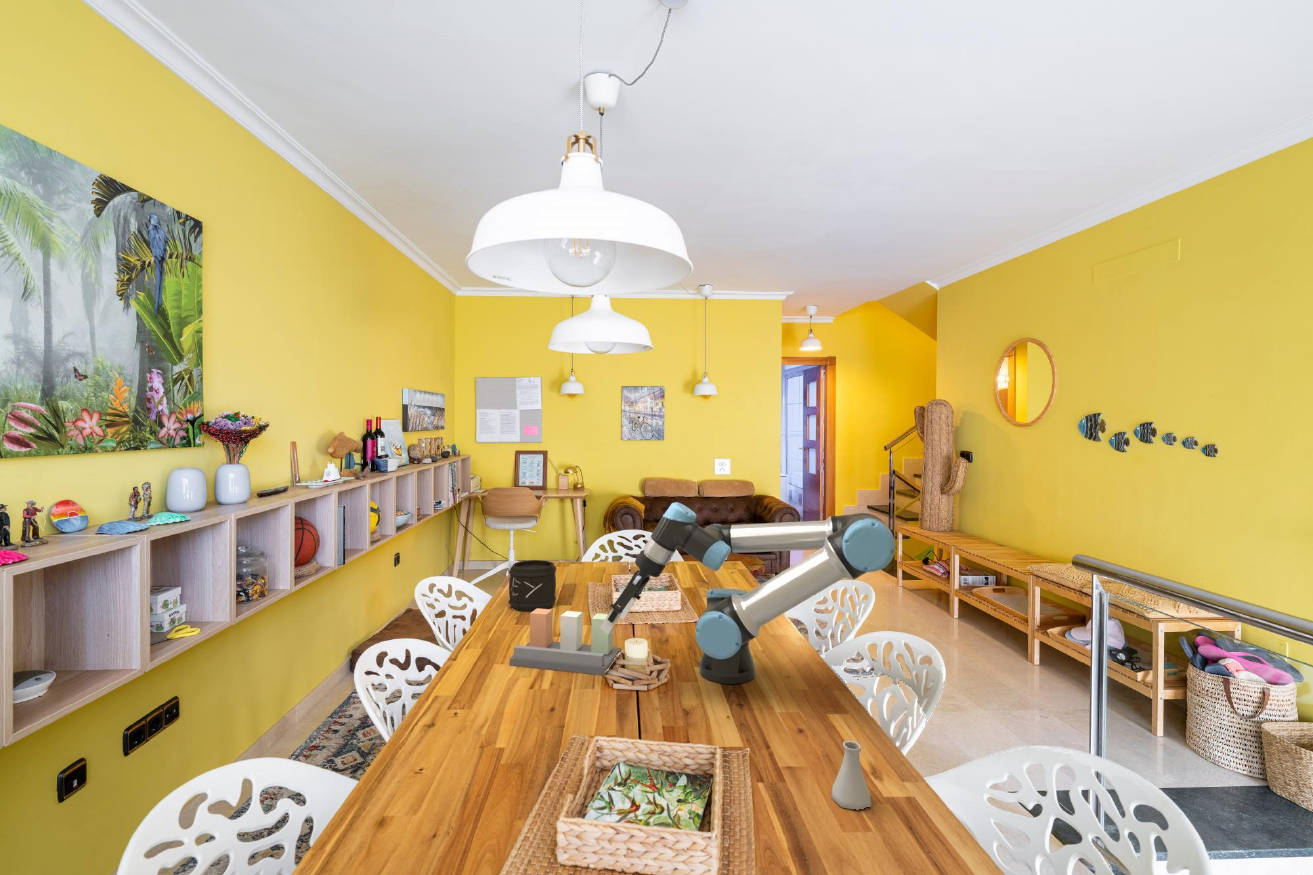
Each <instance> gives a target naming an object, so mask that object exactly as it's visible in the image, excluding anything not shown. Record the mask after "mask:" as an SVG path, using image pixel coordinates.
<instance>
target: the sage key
mask: <svg viewBox="0 0 1313 875" xmlns="http://www.w3.org/2000/svg"><path fill="white" fill-rule="evenodd" d="M608 614H609V613H596V614H595V615H593V617H592V618H591V629H590V630H591V633H590V634H591V637H590V638H591V641H590V645H591V652H593V653H603V654H607V655H608V654H609V653H610V651H611V650H612V649H613V647H614V627H613V628H612V630H611V631H610V633H609V634H607V633H606V632H604V631H603V630H602V629H600V627H601V625H602V623H603V622H604V620H605V619H606V617H607V616H608Z"/></svg>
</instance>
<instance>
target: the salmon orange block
mask: <svg viewBox="0 0 1313 875" xmlns="http://www.w3.org/2000/svg"><path fill="white" fill-rule="evenodd" d="M529 613H530V614H529V618H530V619H529V643H530V646H532V647H542V648H547V647H548V646H549V645H550V644H551V643H552V641H553V617H554V616H553V609H552V608H550V609H539V608H537V609H536V610H534V611H533V612H529Z"/></svg>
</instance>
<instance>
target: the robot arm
mask: <svg viewBox="0 0 1313 875" xmlns="http://www.w3.org/2000/svg"><path fill="white" fill-rule="evenodd" d="M696 519H697V513H696V512H695V511H693V510H692V509H691V508H689V507H687V505H684V504H682V503H680V502H672V503H671V504H670V506H669V507H668V509H666V511H665V512H664V514H663V515H662V517H661V518H660V520H659V521H658V523H657V525H656V526H655V529H654V530H653V532H652V534H651V535H650V537H646V538H645V541H646V543H645V545H644V546H643V549H642V550H640V552H639V553H638V555H637V556H636V558H635V560H634V563H635V565H636V567H638V569H639V570H636V571H635V572H634V573H633V574H632V576H631V579H630V580H629V581H628V583H627V584H626V586H625V588H624V589H623V590H622V591H621V594H619V596H618V598H617V599H616V601H614V603H611V604H610V606H609V607H611V609H610V611H609V612H608V613H607V614H608V616H607V617H606V619H605V620H604V622H603V623H602V625H601V627H600V629H602V630H603V631H604V632H606V633H607V634H609V633H610V631H611V630H612V628H613V629H614V626H615V625H616V624H617V623H618V620H619V619H622V620H623V621H624V620H625V618H626V617H627V615H628V614H629V612H630V610H631V608H632V607H633V606H634V604H635V602H636V601H640V599H641V598H642V597H641V595H642V592H643V591H644V589H645V587H646V586H647V584H648V583H649V581H650V580H651V577H653V578H658V577H660V575H662V573H663V571H664V570H665V568H666V565H668V564H669V562H670V560H672V557H674V554H675V553H676V551H677V549H678V548H680V550H682V551H684V552H685V553H687V554H688V555H690V556H691V557H692V558H693V559H695V560H697V561H698V562H699V563H701V564H702V565H703V566H705V567H706V568H708V569H710V570H712V571H713V572H718V571H719V570H720V569H721V567H722V566H723V565H724V563H725V561H726V560H727V558H728V557H729V555H730V554H733V553H734V554H735V553H757V552H759V553H760V552H762V553H764V552H786V551H789V552H792V551H813V550H814V551H815V552H813V553H811V554H809V555H807V556H806V557H805V558H803V559H801V560H799V561H797V562H796V563H794V564H793V565H791V566H789V567H788V568H787V569H784V570H782V571H781V572H779V573H778V574H776V575H774V576H773V577H771V578H770V579H767V580H766V581H765V582H763V583H761V584H759V585H758V586H757V587H755V588H753V589H751V590H750V591H748V592H747V591H745V590H743V589H737V588H736V589H735V588H725V587H723V588H711V589H710V588H709V590H707V591H706V598H705V599H706V608H705V610H704V611H703V613H702V614H701V615H700V617H699V618H698V619H697V621H696V626H695V631H694V632H695V634H694V635H695V640H696V643H697V645H698V648H700V650H701V651H703V653H702V655H701V658H700V661H699V670H698V671H699V674H700V676H702V678H704V679H706V680H708V681H711V682H714V683H719V684H726V685H735V684H737V685H738V684H743V683H747V682H749V681H752V680H753V679H754V678H755V674H756V673H755V672H756V669H755V663H754V660H753V657H752V654H751V651H750V647H749V645H750V644H749V642H750V641H752V640H753V639H755V638H756V637H759V635H760V630H761V627H763V626H764V625H766V624H768V623H770V622H771V621H774V619H776V618H778V617H780V616H781V615H783V614H785V613H786V612H788V611H789V610H792V609H794V608H795V607H796V606H798V605H800V604H802V603H803V602H805V601H807V600H808V599H811V598H812V597H814V596H815V595H817V594H820V592H822V591H824V590H826V589H827V588H829V587H831V586H832V585H834V584H836V583H837V582H839V581H841V580H842V579H843V580H844V579H847V580H851V581H854V580H856V579H858V578H859V577H861V576H864V575H866V574H867V573H873V572H877V571H880V570H883V569H884V568H886V567H887V566H888V565H889V564H890V563H891V561H892V559H893V558H894V555H895V551H896V541H895V538H894V537H895V536H894V534H893V533H892V531H891V529H890V528H889V527H888V526H887V525H886V523H885V522H884V521H883V520H882V519H880V518H879V517H878V516H876V515H874V514H871V513H868V512H867V513H865V512H857V513H852V514H844V515H843V514H842V515H833V516H832V515H830V516H828V518H827V519H825V520H807V521H790V522H786V521H785V522H768V523H747V524H731V525H730V524H729V525H722V524H719V523H713V524H710V525H708V526H706V527H705V528H703V527H702V526H700V525H699V524H697V523H696Z"/></svg>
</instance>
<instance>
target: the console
mask: <svg viewBox="0 0 1313 875" xmlns="http://www.w3.org/2000/svg"><path fill="white" fill-rule="evenodd" d="M619 652H621V653H622V647H619V646H618V647H616V646H613V649H612V650H611V651H610V653H609V654H608V655H607V654H603V653H593V652H591V644H584V643H582V646H581V647H580V648H579V649H578V650H577V651H573V650H562V649H560V641H553V640H552V643H551V644H550V645H549V646H548V647H547V648H542V647H532V646H530V642H528V643H527V644H526V645H521V644H517V645H515V646H514V647H513V655H512V656H511V657H510V658H509V666H513V667H519V666H522V667H521V668H531V669H541V670H550V671H560V672H568V673H577V674H587V675H597V676H604V675H605V671H606V670H607V669H608V668H609V667H610V665H611V664H612V662H613V661H614V658H615V657H616V655H617V654H618V653H619ZM605 676H606V675H605Z"/></svg>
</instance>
